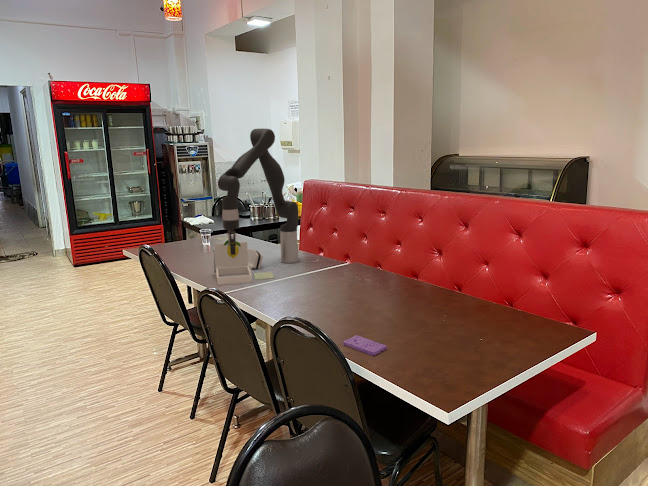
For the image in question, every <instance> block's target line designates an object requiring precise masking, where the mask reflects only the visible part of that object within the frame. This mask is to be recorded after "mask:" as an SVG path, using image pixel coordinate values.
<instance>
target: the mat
mask: <svg viewBox="0 0 648 486" xmlns="http://www.w3.org/2000/svg"><path fill="white" fill-rule="evenodd" d="M252 274H253V277H254V280H255V281H262V280H263V279H264V280H274V279H275V276H274V274H273V272H272V271H266V272H253V273H252Z"/></svg>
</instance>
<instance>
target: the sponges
mask: <svg viewBox="0 0 648 486" xmlns="http://www.w3.org/2000/svg"><path fill="white" fill-rule="evenodd" d="M342 344H344V345H343V346H345V345H346V347H347V346H349V347H348V348H350V347H351V349H353V348H354V349H353V350H356V349H357V350H356V351H358V350H359V351H358V352H361V351H362V353H364V352H365V353H364V354H366V353H367V354H366V355H369V356H372V355H375V356H377V355H379V354H380V353H382V352H384V351H386V350H388V349H387V345H385V344H381V343H379V342H376V341H374V340H371V339H368V338H365V337H363V336H361V335H357V334H355V335H354V336H352V337H350V338H348V339H345V340H343V343H342ZM385 349H386V350H385ZM381 351H382V352H381ZM378 353H379V354H378ZM376 354H377V355H376Z"/></svg>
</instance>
